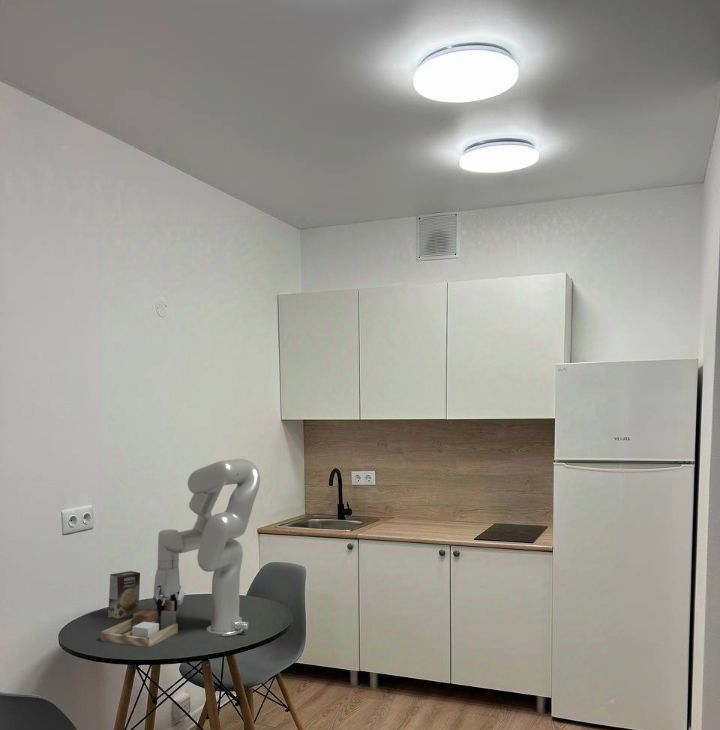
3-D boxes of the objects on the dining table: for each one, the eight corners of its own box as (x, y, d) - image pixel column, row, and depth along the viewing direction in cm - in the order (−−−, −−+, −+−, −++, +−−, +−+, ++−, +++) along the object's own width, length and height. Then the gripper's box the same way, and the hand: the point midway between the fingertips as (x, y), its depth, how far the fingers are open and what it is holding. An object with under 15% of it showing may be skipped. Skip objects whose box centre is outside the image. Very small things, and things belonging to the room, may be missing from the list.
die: (184, 609, 272) (191, 586, 278) (165, 601, 268) (173, 577, 274) (173, 613, 277) (180, 590, 283) (154, 605, 273) (162, 582, 279)
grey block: (176, 629, 241) (177, 612, 241) (147, 644, 225) (148, 625, 225) (162, 627, 243) (162, 610, 243) (132, 642, 227) (132, 623, 227)
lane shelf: (188, 629, 244) (189, 618, 244) (148, 650, 222) (149, 637, 223) (143, 624, 250) (144, 613, 250) (100, 644, 229) (100, 631, 229)
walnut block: (175, 617, 255) (175, 601, 255) (147, 630, 239) (147, 613, 240) (161, 616, 257) (161, 599, 257) (132, 629, 241) (133, 611, 242)
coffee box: (117, 621, 253) (118, 576, 255) (107, 618, 257) (109, 574, 259) (139, 616, 261) (140, 572, 262) (129, 613, 265) (130, 570, 266)
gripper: (173, 558, 266) (171, 606, 265) (145, 568, 250) (143, 618, 248) (190, 560, 263) (188, 608, 262) (162, 569, 247) (161, 621, 246)
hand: (166, 613), depth 255 cm, fingers open, 7 cm apart
